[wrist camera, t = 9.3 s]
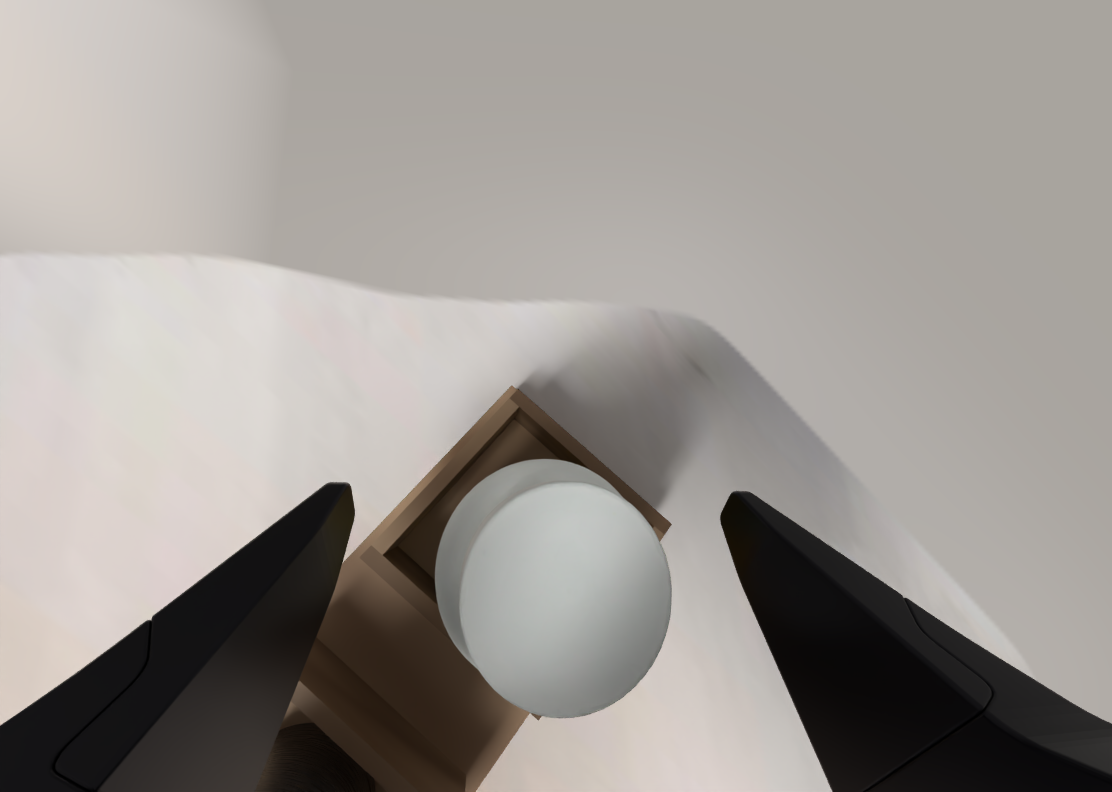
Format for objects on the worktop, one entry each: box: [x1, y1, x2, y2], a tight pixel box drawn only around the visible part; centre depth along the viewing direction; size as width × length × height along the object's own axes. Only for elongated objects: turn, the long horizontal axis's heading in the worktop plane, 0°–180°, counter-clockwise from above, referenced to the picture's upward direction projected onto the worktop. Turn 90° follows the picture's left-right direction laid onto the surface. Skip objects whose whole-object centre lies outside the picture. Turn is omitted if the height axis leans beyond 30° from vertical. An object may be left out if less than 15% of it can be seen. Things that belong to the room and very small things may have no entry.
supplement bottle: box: [435, 459, 672, 718], centre depth 12 cm, size 5×5×10 cm
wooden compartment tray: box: [280, 386, 672, 792], centre depth 14 cm, size 20×9×4 cm, turn 140°
